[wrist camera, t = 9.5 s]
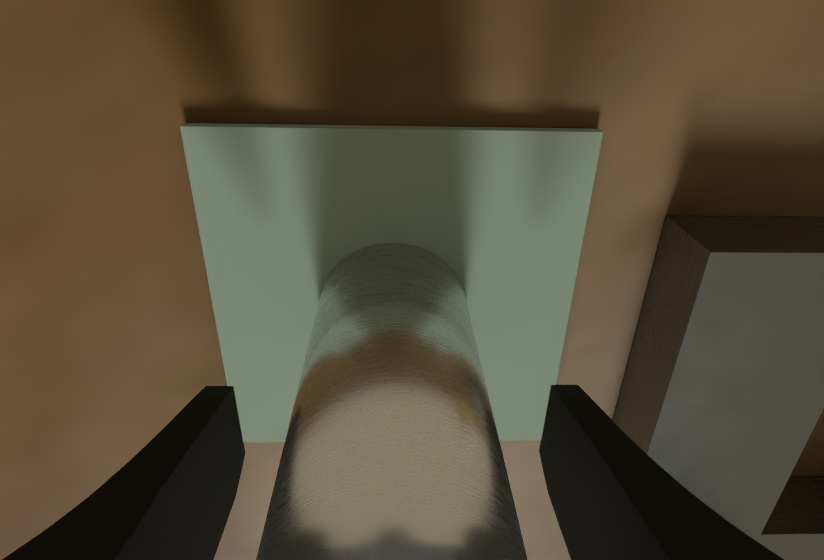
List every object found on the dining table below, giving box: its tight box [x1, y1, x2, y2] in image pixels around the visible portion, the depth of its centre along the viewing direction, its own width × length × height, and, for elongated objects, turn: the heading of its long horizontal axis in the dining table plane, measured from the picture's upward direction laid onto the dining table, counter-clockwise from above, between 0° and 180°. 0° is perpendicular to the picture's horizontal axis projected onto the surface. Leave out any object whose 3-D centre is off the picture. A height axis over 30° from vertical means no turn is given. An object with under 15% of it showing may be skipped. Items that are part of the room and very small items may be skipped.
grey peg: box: [256, 243, 527, 560], centre depth 13 cm, size 4×4×9 cm
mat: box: [180, 123, 603, 442], centre depth 17 cm, size 11×11×1 cm
